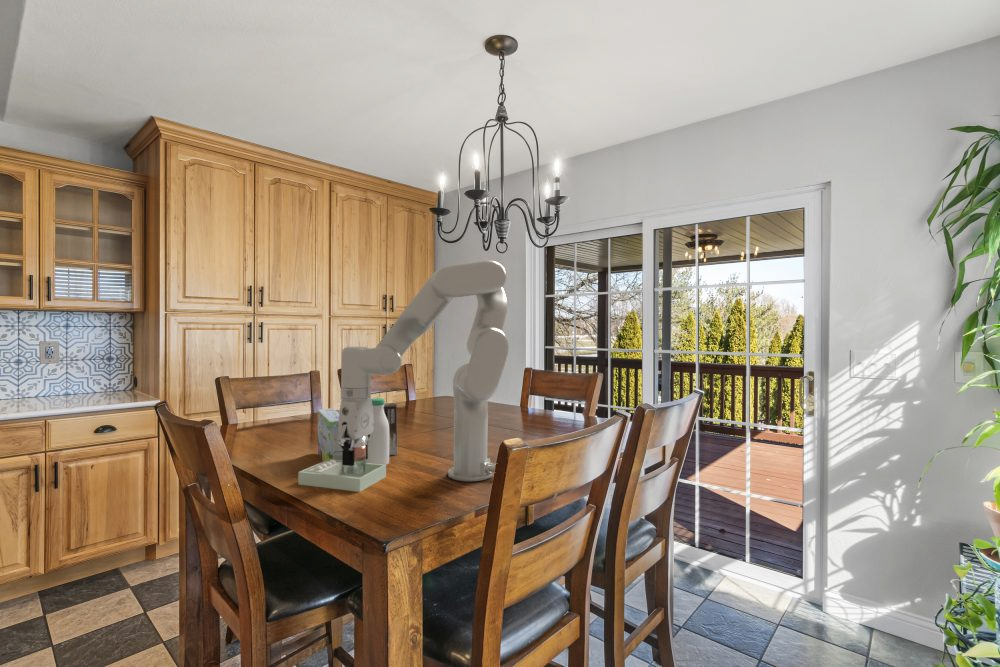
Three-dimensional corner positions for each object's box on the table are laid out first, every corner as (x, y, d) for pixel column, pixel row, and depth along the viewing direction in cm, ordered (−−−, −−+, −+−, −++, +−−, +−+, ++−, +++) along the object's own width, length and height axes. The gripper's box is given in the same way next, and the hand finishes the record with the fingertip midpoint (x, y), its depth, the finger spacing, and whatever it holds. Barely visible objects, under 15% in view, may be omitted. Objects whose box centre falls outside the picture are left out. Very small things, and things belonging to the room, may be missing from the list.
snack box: (316, 456, 158) (316, 409, 158) (334, 453, 161) (334, 407, 160) (328, 473, 140) (329, 420, 139) (349, 471, 142) (349, 419, 142)
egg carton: (341, 474, 136) (341, 459, 136) (321, 484, 128) (321, 467, 128) (329, 472, 138) (329, 457, 137) (308, 482, 129) (308, 466, 129)
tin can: (369, 468, 132) (370, 431, 132) (358, 474, 127) (358, 436, 127) (351, 467, 134) (352, 430, 133) (339, 472, 128) (340, 434, 128)
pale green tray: (385, 479, 135) (386, 464, 135) (359, 494, 122) (359, 478, 122) (329, 473, 140) (329, 459, 140) (298, 487, 127) (298, 471, 127)
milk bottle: (392, 462, 152) (393, 397, 151) (384, 469, 144) (384, 401, 144) (368, 461, 152) (368, 396, 152) (358, 468, 145) (359, 400, 144)
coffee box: (397, 450, 166) (397, 402, 166) (397, 455, 160) (397, 406, 159) (369, 451, 164) (369, 403, 164) (367, 456, 158) (368, 406, 158)
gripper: (349, 398, 120) (349, 472, 121) (385, 390, 137) (384, 455, 137) (323, 397, 123) (322, 469, 123) (361, 389, 139) (360, 453, 139)
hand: (355, 461), depth 130 cm, fingers closed on tin can, 5 cm apart
